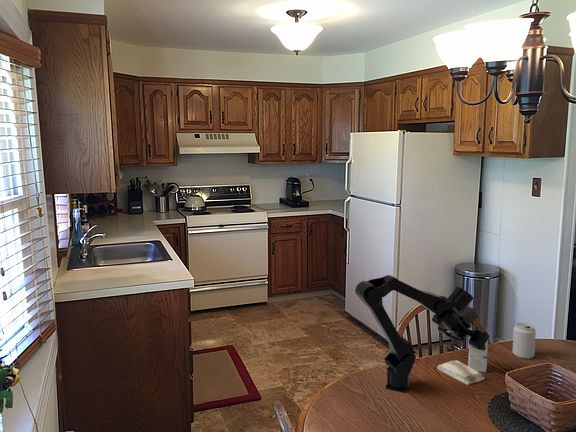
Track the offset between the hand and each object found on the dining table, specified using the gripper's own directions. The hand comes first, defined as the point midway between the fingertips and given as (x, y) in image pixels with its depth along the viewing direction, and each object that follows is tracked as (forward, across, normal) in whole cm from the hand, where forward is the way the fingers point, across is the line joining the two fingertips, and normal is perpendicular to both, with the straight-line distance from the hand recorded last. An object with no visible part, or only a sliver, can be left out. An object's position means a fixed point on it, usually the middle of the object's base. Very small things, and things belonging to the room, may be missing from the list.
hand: (474, 344), depth 170 cm
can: (+25, 0, -11) cm, 27 cm away
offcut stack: (+2, 0, +11) cm, 11 cm away
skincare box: (+8, 0, +5) cm, 10 cm away
